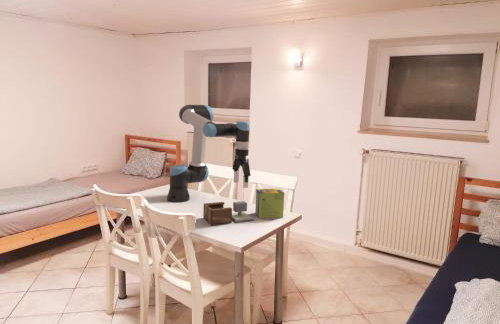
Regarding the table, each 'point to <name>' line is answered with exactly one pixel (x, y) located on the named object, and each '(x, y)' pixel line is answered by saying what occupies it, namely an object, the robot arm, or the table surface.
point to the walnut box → (217, 213)
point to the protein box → (269, 203)
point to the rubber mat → (242, 221)
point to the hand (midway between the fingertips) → (240, 184)
